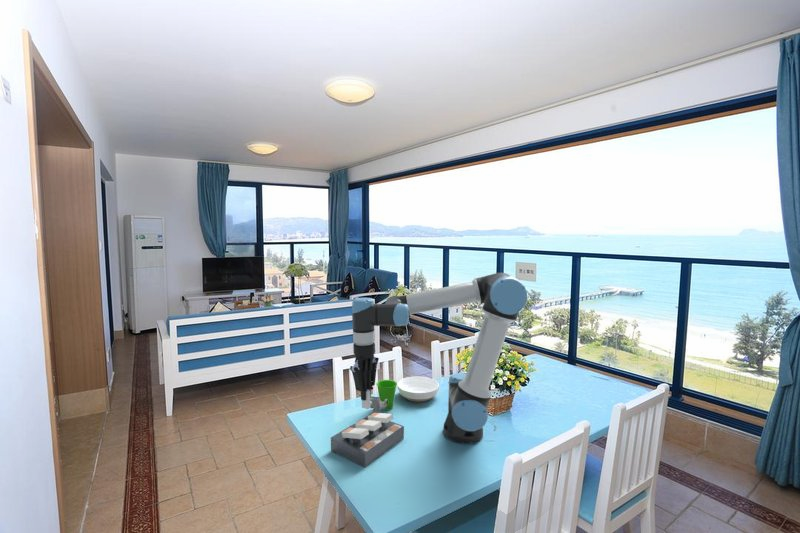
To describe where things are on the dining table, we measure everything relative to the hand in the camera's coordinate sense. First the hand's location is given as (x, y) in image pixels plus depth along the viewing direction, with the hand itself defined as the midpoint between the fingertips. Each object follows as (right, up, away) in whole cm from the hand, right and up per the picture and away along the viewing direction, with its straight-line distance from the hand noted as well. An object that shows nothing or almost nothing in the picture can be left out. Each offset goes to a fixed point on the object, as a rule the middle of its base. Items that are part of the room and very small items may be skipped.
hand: (366, 407), depth 138 cm
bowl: (+20, -12, +45) cm, 51 cm away
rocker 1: (-4, -8, -2) cm, 9 cm away
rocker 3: (+5, -7, +9) cm, 12 cm away
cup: (+6, -13, +34) cm, 37 cm away
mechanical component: (+2, -14, +21) cm, 25 cm away
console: (0, -15, +4) cm, 16 cm away
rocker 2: (0, -8, +4) cm, 8 cm away
